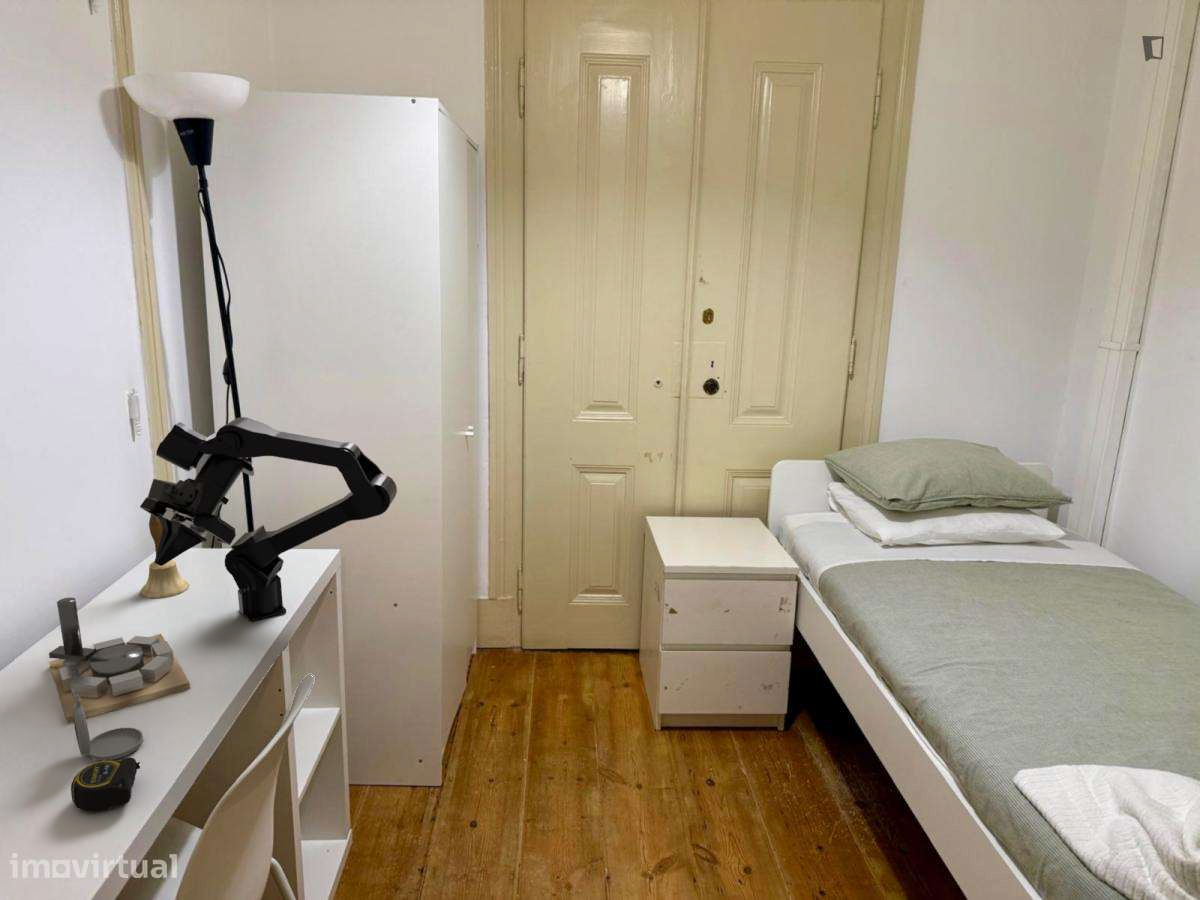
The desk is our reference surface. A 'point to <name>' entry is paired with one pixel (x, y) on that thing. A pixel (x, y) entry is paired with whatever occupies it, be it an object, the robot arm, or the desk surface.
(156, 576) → the hand bell
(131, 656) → the grey metal puck
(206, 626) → the desk surface
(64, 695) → the oak board
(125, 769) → the tape measure
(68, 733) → the desk surface
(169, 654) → the block ring with rod
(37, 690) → the desk surface
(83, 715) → the pocket watch
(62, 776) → the desk surface
